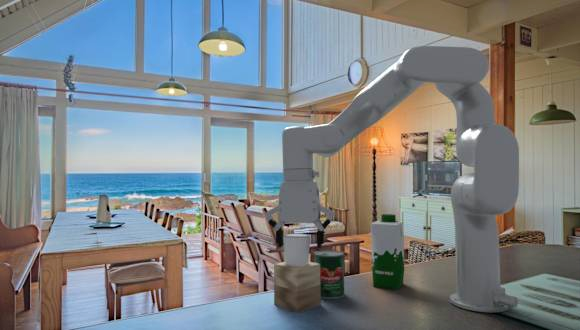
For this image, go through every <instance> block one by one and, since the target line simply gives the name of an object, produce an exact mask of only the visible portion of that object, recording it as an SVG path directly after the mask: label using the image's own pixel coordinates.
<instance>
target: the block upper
mask: <svg viewBox="0 0 580 330" xmlns="http://www.w3.org/2000/svg"><path fill="white" fill-rule="evenodd" d="M274 285H277V286H280V287H284V288H287V289H291V290H294V291H300V290H304V289H307V288H311V287H314V286H318V285H320V264H318V263H314V262H313V261H308V265H306V266H288V265H286V264H285V261H281V262H279V263H278V262H277V263H273V286H274Z"/></svg>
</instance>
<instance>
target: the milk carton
mask: <svg viewBox="0 0 580 330" xmlns="http://www.w3.org/2000/svg"><path fill="white" fill-rule="evenodd" d="M396 217H397V216H396V214H391V213H390V214H389V213H388V214H387V213H386V214H385V213H384V214H381V220H376V221H373V222H371V223H370V232H371V234H370V236H371V272H372V286H373V288H381V289H390V290H399V289H400V288H401V287H402V285H403V284H404V277H405V238H404V222H403V221H399V220H398V221H396V220H397V218H396Z"/></svg>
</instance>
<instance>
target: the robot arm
mask: <svg viewBox="0 0 580 330" xmlns="http://www.w3.org/2000/svg"><path fill="white" fill-rule="evenodd" d="M489 63H490V62H489V60H488V58H487V56H486V55H485V54H484V53H483V51H481V50H479V49H478V48H472V47H469V46H468V47H467V46H442V45H441V46H439V45H437V46H436V45H420V46H413V47H411V48H408V49H407V50H406V51H404V52H403V54H402V55H401V56H400V58H399V59H397V61H395V63H393V64H392V65H391V66H390V67H389V68H387V69H386V70H385V71H384V72H383V73H382V74H381V75H379V76H378V77H377V78H376V79H375V80H373V81H372V82H370V83H369V84H368V85H367V86H366V87H364V88H363V89H362V90H361V91H360V92H359V93H358V94H357V95H356V96H355V97H354V98H353V99H352V101H351V102H349V104H348V105H347V107H345V108H344V109H343V110H342V111H341V112H340V113H339V114H338V115H337V116H336V117H335V118H334V119H332V120H331V121H330V122H329V123H326V124H319V125H313V126H302V125H301V126H300V125H296V126H295V125H294V126H288V127H285V128H284V129H283V131H282V134H281V135H282V136H281V138H282V142H281V143H282V144H281V145H282V147H281V148H282V181H283V182H281V183H280V186H279V193H278V201H277V202H278V204H277V206H275V207H273V208H271V209H270V210H268V211H266V212H265V213H264V216H265V218H266V220H267V222H268V224H269V225H270V226H271V227H272V229H273V230H274V231H275V244H277V247H278V248H282V247H284V246H283V235H285V233H284V229H283V226H284V225H286V224H313V225H314V226H315V227H316V228H317V231H316V247H317V248H318V249H321V248H322V246H323V245H324V244H325V231H324V230H325V229H326V228H327V227H328V226H329V225H331V222H332V221H333V218H334V216H335V214H336V213H335V212H334V211H333V210H331V209H329V208H327V207H325V206H323V205H322V204H321V200H320V191H319V185H318V182H316V181H315V178H320V171H316V170H315V169H314V154H315V155H316V154H317V155H318V156H320V157H321V158H322V157H324V158H329V157H333V156H335V155H336V154H337V153H339V152H341V150H342V149H343V148H345V147H346V146H347V145H348V144H349V143H350V142H352V141H353V140H354V139H355V138H357V137H358V136H359V135H360V134H362V133H363V132H364V131H366V130H367V129H369V128H370V127H371V126H373V125H375V124H377V123H378V122H379V121H380V120H381V119H383V118H384V117H385V116H387V115H388V114H389V113H390V112H391V111H392V110H394V109H395V108H396V107H397V106H398V105H400V104H402V102H403V101H405V100H406V99H408V97H409V96H411V95H412V94H413V93H414V92H415V91H417V90H419V88H420V87H421V86H423V85H425V83H431V84H432V83H433V84H434V86H435V88H436V89H437V91H438V92H439V93H441V94H442V95H443V96H444V97H446V98H447V99H449V101H450V102H451V103H452V105H453V106H454V109H455V114H456V116H455V117H456V142H455V143H456V144H455V150H456V151H455V153H456V157H457V159H458V161H459V162H460V163H461V164H463V165H464V166H466V167H469V168H473V172H471V173H465V174H463V175H460V176H459V177H458V178H456V180H455V181H454V183H452V186H451V189H450V201H451V207H452V211H453V212H452V214H453V220H454V240H455V241H454V245H455V248H454V249H455V275H456V276H455V277H456V278H455V279H456V282H455V283H456V284H455V285H456V292H455V293H452V294H450V296H449V301H450V303H451V304H453V305H454V306H456V307H458V308H460V309H461V308H462V309H464V310H467V311H472V312H478V313H489V314H490V313H491V314H492V313H503V312H505V311H508V310H509V307H510V308H514V309H516V308H517V307H518V304H519V303H518V298H517V296H514V295H509V294H508V295H507V293H506V287H502V286H501V266H500V264H501V263H500V235H499V234H500V232H499V225H498V221H497V217H496V216H500V215H504V214H506V213H508V212H509V211H511V210H512V209H513V208H514V206H516V204H517V201H518V196H519V189H520V146H519V143H518V139H517V137H516V135H515V134H514V132H513V131H512V130H511V129H510V128H509V127H507V126H505V125H503V124H501V123H496V114H495V113H496V112H495V103H494V100H493V98H492V96H491V94H490V92H489V91H488V90H487V89H486V87H484V85H482V84H481V82H482V81H483V80H484V79H485V78H486V76H487V74H488V72H489V67H490V65H489ZM276 213H277V219H278V222H277V221H276V220H275V219H274V216H273V215H275V214H276ZM322 213H323V214H324V215H326V216H327V217H326V219H325V221H324V222H322V221H321V220H320V219H321V216H322Z"/></svg>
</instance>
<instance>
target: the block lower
mask: <svg viewBox="0 0 580 330" xmlns="http://www.w3.org/2000/svg"><path fill="white" fill-rule="evenodd" d="M273 294H274V295H273V297H274V298H273V300H274V301H273V305H274V306H276V307H279V308H282V309H285V310H288V311H291V312H294V313H297V314H298V313H301V312H304V311H306V310H309V309H313V308H315V307H318V306H321V305H322V304H321V302H322V301H321V300H322V298H321V285H318V286H314V287H311V288H307V289H304V290H300V291H294V290H291V289H287V288H284V287H280V286H277V285H274V284H273Z"/></svg>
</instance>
